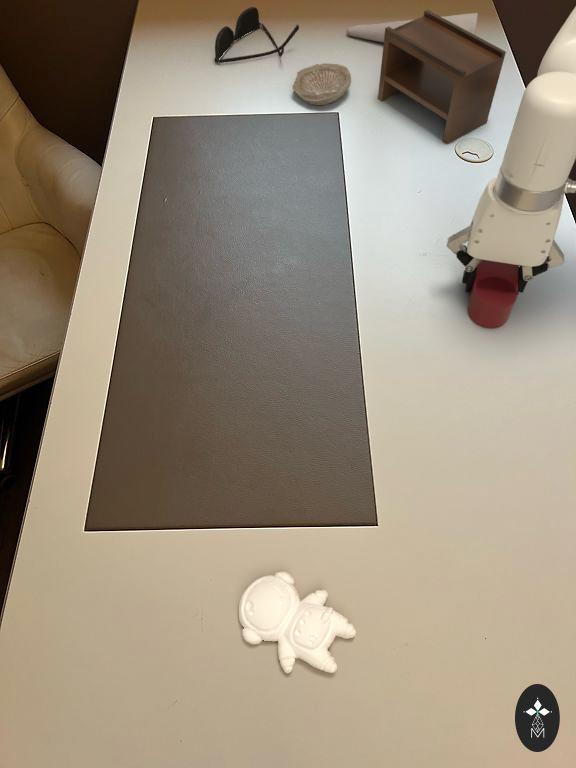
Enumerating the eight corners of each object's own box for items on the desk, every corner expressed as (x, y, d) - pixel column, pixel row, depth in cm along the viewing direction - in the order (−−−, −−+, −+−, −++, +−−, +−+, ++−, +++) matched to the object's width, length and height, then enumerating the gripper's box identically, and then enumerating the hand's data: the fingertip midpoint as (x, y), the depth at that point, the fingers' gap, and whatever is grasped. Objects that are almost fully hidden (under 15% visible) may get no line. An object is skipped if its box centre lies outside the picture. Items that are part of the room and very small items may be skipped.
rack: (416, 79, 120) (427, 9, 109) (486, 123, 112) (506, 51, 101) (377, 98, 117) (385, 27, 106) (447, 144, 108) (462, 72, 98)
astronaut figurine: (318, 699, 60) (318, 694, 58) (222, 623, 64) (219, 615, 62) (366, 622, 64) (369, 615, 62) (273, 555, 68) (272, 546, 66)
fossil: (289, 110, 116) (287, 96, 114) (303, 74, 122) (301, 60, 120) (344, 113, 114) (343, 99, 112) (355, 76, 120) (355, 62, 117)
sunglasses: (271, 81, 120) (270, 55, 116) (209, 62, 125) (206, 37, 121) (313, 41, 128) (313, 16, 124) (253, 25, 133) (252, -1, 129)
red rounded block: (473, 255, 93) (480, 233, 90) (511, 261, 92) (520, 239, 89) (466, 324, 86) (473, 303, 82) (507, 331, 85) (516, 310, 81)
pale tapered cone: (338, 31, 122) (475, 27, 116) (346, 8, 126) (479, 4, 120) (341, 69, 128) (471, 68, 122) (348, 47, 133) (474, 44, 126)
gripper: (603, 174, 75) (553, 280, 90) (458, 155, 77) (432, 261, 92) (606, 216, 70) (552, 319, 85) (452, 194, 73) (426, 298, 88)
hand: (490, 288), depth 89 cm, fingers closed on red rounded block, 5 cm apart
